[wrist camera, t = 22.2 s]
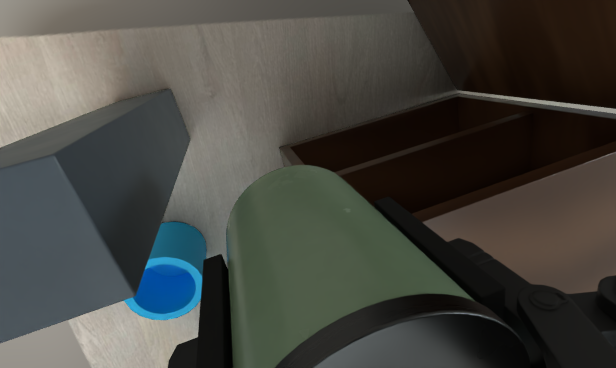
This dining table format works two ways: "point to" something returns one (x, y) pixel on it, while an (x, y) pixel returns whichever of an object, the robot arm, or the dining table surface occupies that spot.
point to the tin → (345, 286)
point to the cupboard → (491, 180)
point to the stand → (85, 210)
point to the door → (526, 47)
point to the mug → (171, 274)
